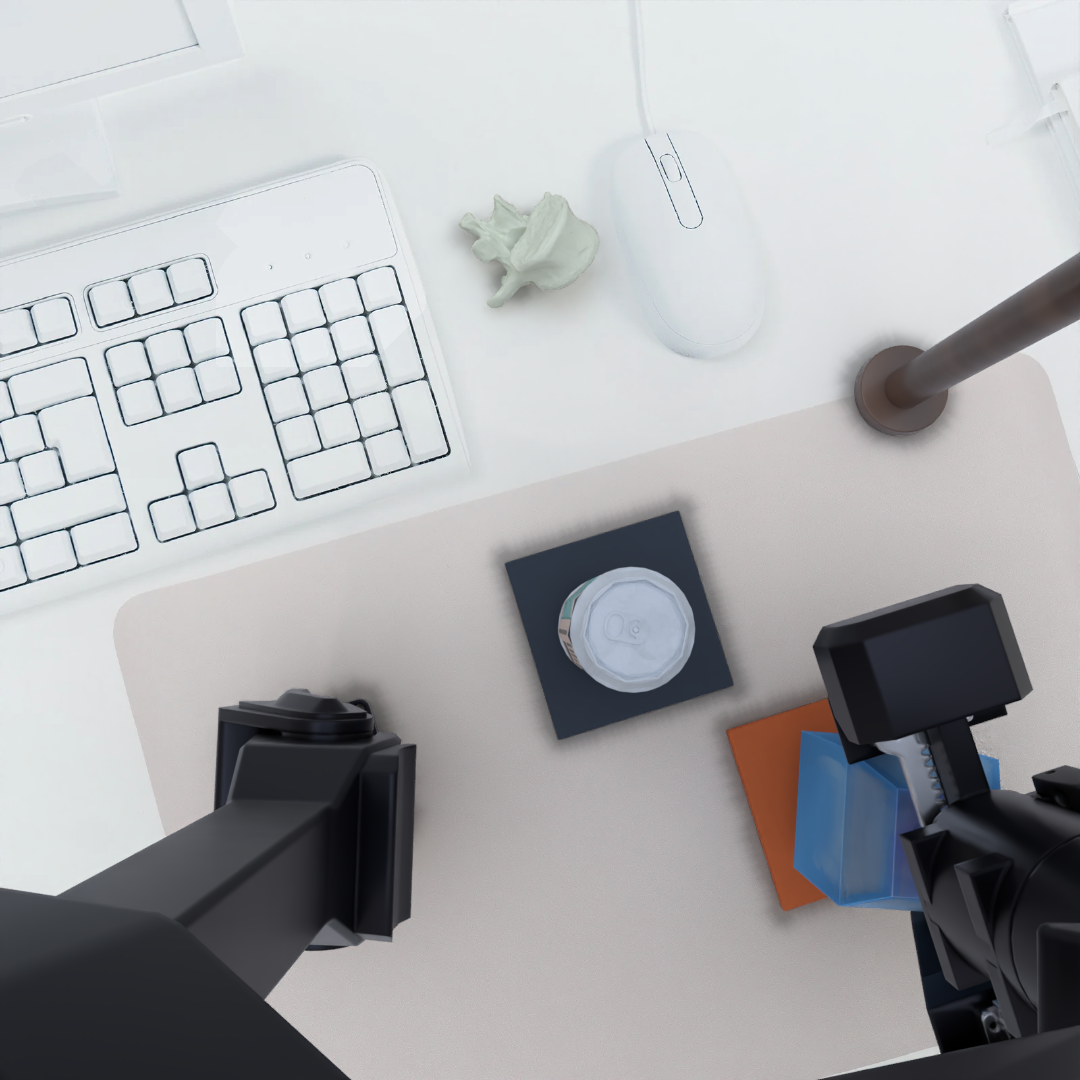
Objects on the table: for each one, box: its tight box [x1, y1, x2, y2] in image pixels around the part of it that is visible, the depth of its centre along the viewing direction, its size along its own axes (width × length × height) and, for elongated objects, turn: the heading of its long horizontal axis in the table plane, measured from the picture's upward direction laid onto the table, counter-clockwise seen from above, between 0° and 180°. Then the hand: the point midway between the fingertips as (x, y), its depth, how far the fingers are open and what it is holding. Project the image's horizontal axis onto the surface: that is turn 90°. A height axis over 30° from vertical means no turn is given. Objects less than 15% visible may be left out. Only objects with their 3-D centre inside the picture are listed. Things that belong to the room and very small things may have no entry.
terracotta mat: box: [725, 698, 838, 912], centre depth 50 cm, size 9×9×1 cm
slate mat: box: [504, 510, 735, 741], centre depth 50 cm, size 9×9×1 cm
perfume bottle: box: [794, 731, 1002, 912], centre depth 41 cm, size 6×6×12 cm
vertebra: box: [458, 191, 600, 309], centre depth 50 cm, size 6×7×4 cm
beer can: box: [558, 567, 695, 693], centre depth 44 cm, size 5×5×12 cm
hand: (894, 821), depth 43 cm, fingers closed on perfume bottle, 7 cm apart
